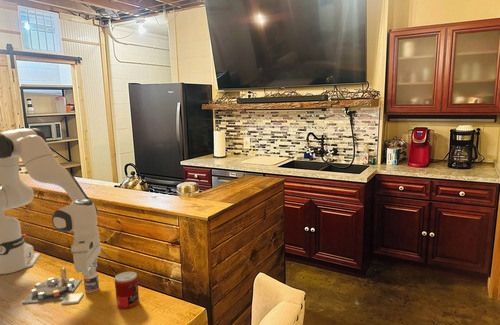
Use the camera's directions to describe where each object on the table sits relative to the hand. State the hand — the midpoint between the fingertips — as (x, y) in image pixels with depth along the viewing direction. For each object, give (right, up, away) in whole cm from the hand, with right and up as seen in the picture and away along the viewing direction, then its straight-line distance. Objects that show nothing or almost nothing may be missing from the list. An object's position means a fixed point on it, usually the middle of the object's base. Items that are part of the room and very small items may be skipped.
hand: (90, 272), depth 140 cm
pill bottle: (0, -7, +1) cm, 7 cm away
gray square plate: (-15, -8, 0) cm, 17 cm away
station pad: (-4, -8, -6) cm, 11 cm away
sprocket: (-15, -8, 0) cm, 17 cm away
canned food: (+19, -8, -10) cm, 23 cm away
